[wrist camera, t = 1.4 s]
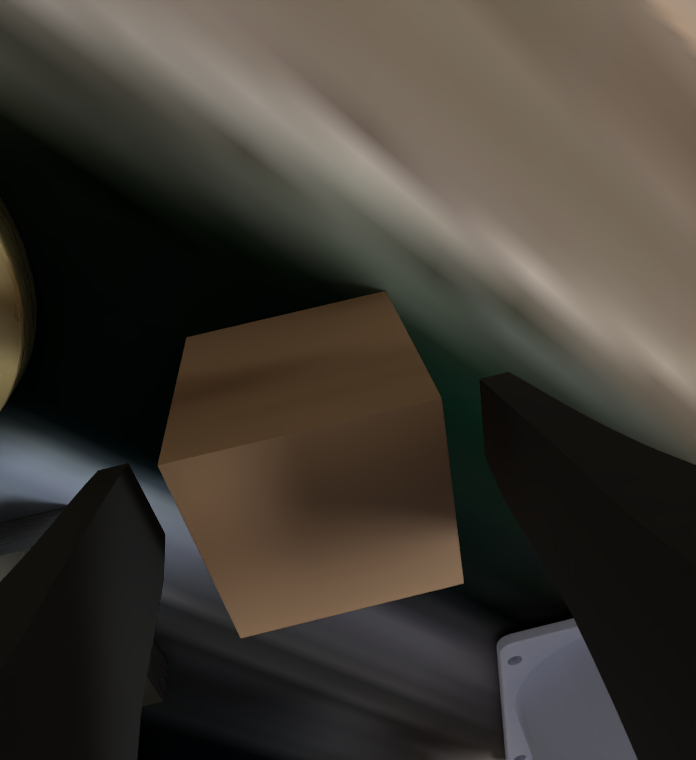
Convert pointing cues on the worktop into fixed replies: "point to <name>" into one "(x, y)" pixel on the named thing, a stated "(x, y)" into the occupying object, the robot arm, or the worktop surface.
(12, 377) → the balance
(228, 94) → the worktop surface
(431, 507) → the block
